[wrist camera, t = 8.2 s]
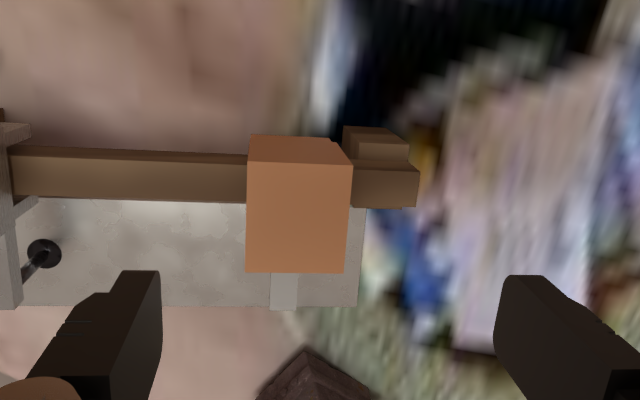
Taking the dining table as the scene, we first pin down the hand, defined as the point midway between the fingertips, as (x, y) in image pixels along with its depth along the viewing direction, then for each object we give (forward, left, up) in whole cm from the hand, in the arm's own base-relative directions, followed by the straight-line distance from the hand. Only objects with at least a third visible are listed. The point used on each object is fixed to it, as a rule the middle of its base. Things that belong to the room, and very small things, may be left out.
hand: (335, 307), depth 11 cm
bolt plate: (+9, -7, -24) cm, 26 cm away
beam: (+1, -7, -24) cm, 25 cm away
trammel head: (+4, 0, -22) cm, 23 cm away
